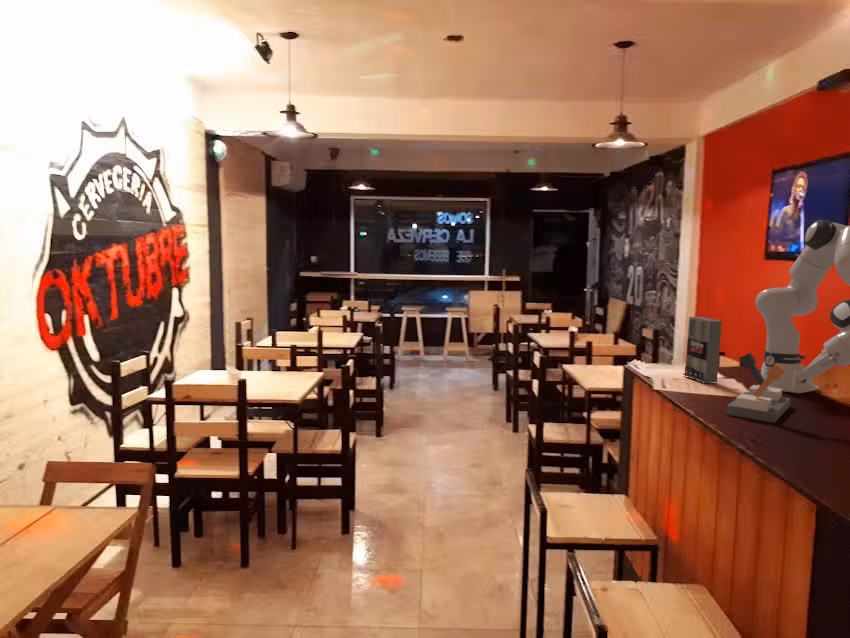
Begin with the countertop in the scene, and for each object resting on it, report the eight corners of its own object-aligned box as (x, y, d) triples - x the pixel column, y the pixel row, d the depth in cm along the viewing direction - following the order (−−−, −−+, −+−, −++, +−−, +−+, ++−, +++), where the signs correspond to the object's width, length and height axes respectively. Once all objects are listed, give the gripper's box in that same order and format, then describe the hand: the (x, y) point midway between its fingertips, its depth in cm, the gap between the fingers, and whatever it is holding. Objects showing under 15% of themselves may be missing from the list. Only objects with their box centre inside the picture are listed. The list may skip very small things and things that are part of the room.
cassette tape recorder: (682, 376, 268) (687, 317, 265) (695, 376, 269) (700, 316, 266) (703, 384, 254) (708, 321, 251) (717, 383, 256) (722, 321, 252)
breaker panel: (744, 400, 229) (746, 383, 228) (789, 407, 221) (790, 389, 220) (726, 414, 209) (727, 396, 208) (774, 422, 200) (776, 404, 200)
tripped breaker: (752, 391, 209) (776, 362, 204) (762, 398, 207) (786, 369, 202) (750, 392, 206) (774, 363, 201) (760, 400, 205) (785, 371, 200)
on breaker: (760, 387, 224) (740, 357, 227) (770, 383, 222) (750, 352, 225) (758, 389, 221) (738, 358, 224) (768, 384, 219) (748, 353, 222)
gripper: (843, 365, 182) (801, 393, 190) (850, 355, 198) (810, 381, 206) (827, 348, 184) (785, 376, 192) (835, 339, 201) (796, 366, 208)
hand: (798, 379), depth 199 cm, fingers closed
